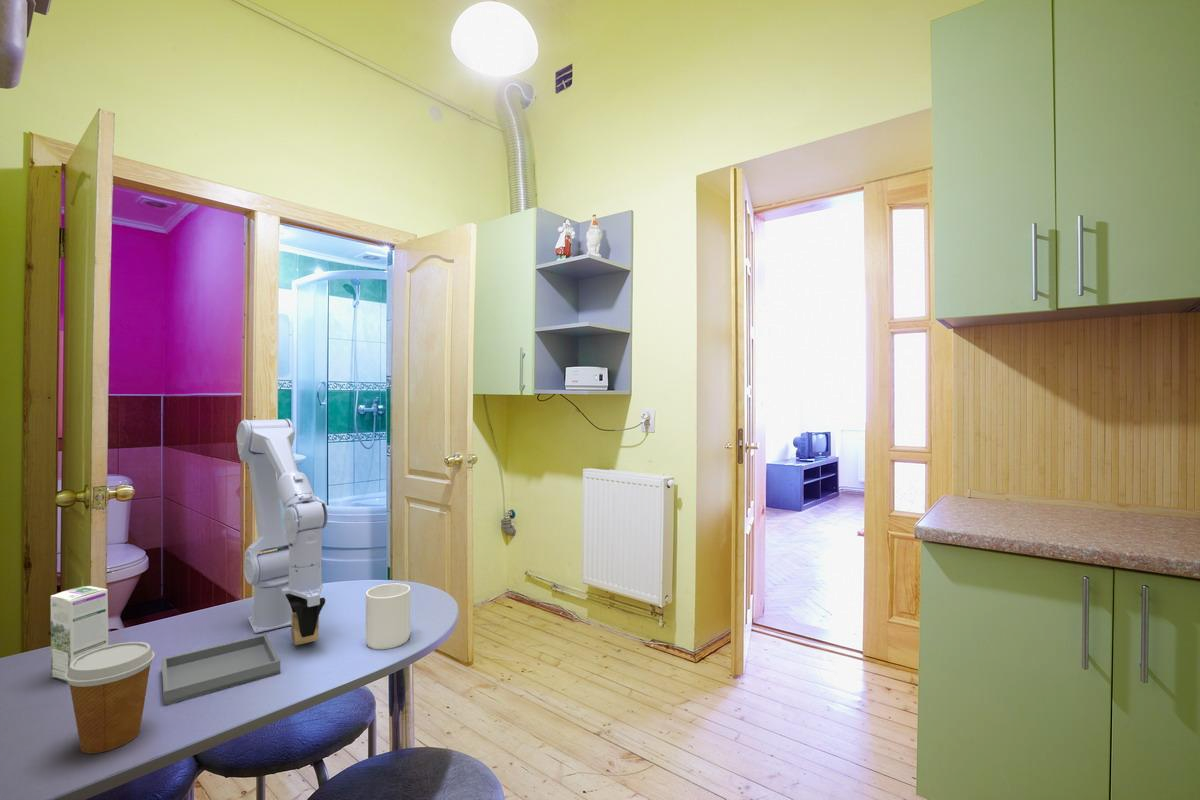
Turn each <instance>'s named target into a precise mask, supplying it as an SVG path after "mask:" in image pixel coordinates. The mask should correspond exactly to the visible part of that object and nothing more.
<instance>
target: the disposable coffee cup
mask: <svg viewBox="0 0 1200 800" xmlns="http://www.w3.org/2000/svg"><path fill="white" fill-rule="evenodd" d="M155 655H156V654H155V652H154V651H153V650H152V647H151V645H150V644H149V643H147V642H145V641H128V642H120V643H114V644H110V645H108V646H105V647H102V648H99V649H95V650H92V651H90V652H87V653H85V654H83V655H81V656H79V657H77V658H76V659H74V660H73V661H72V662H71V663H70V666H69V669H68V671H67V672H66V673H65V676H64V678H65V679H66V681H67V682H66V681H65V682H66V683H67V684H68V685H69V690H70V696H71V701H72V706H73V712H74V717H75V722H76V728H77V730H76V731H77V733H78V740H79V746H80V751H81V752H83V753H85V754H98V753H104V752H107V751H112V750H114V749H117V748H119V747H122V746H123V745H125V744H128V743H130V742H131V741H133V740H134V739H135V738H136V737H138V735H139V734H140V732H141V727H142V721H143V720H142V719H143V714H144V708H145V701H146V697H147V695H146V694H147V688H148V681H149V675H150V671H151V670H150V669H151V664H152V663H153V660H154V658H155ZM132 739H133V740H132ZM129 741H130V742H129Z"/></svg>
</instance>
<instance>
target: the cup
mask: <svg viewBox="0 0 1200 800" xmlns="http://www.w3.org/2000/svg"><path fill="white" fill-rule="evenodd" d="M410 635H411V587H410V586H409V585H408V584H406V583H396V582H395V583H383V584H379V585H376V586H373V587H370V588H369V589H368V590H366V592H365V642H366V645H367V647H369V648H370V649H374V650H389V649H394V648H398V647H400V646H402V645H403V644H405V643H406V642H408V640H409V639H410Z"/></svg>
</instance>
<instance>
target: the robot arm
mask: <svg viewBox="0 0 1200 800" xmlns="http://www.w3.org/2000/svg"><path fill="white" fill-rule="evenodd" d="M295 435H296V430H295V425H294V423H293V422H292V420H291V419H289V418H284V419H242V420H241V421H240V422H239V423H238V426H237V430H236V444H237V445H236V446H237V452H238V455H239V460H240V461H242V462H245V463H247V465H248V466H247V467H248V470H249V476H250V484H251V485H250V486H251V493H252V501H253V508H254V517H255V523H256V532H257V539H255V541H253V542H252V543H251V544H250V545H249V546H248V547H247V548H246V549H245V552H244V564H243V574H244V578H245V580H246V582H247V583H248V584H249V585H250V586H253V615H252V616H249V617H248V619H247V620H248V622H249V624H250V626H251V629H252V630H253V633H254V634H260V633H263V632H269V631H271V630H277V629H280V628H284V627H285V628H286V627H289V626H291V619H292V613H294V612H296V614H297V617H298V622H299V629H300V633H301V636H302V638H303V637H307V636H311V635H314V632H315V629H316V624H317V620H318V617H319V618H320V614H321V611H322V609H323V607H324V605H325V603H326V598H325V597H320V596H321V594H320V593H321V592H322V589H323V581H322V564H323V563H322V561H323V559H322V558H323V557H322V556H323V553H322V550H323V547H322V546H323V544H322V543H323V538H322V537H323V530H322V529H325V527H326V526H327V524H328V521H329V513H328V508H327V505H326V502H325V501H324V500H322V499H321V498H320V496H315V494H314V491H313V489H312V487H311V484H310V481H309V479H308V477H307V475H306V474H305V473H303V472H301V471H298V467H297V463H296V460H295V456H294V453H293V449H292V447H293V444H294V440H295ZM277 476H278V479H277ZM281 504H282V506H283V509H284V512H283V516H282V508H281ZM284 530H285V531H284ZM266 551H267V552H266ZM261 552H262V553H261Z"/></svg>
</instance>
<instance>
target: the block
mask: <svg viewBox="0 0 1200 800" xmlns="http://www.w3.org/2000/svg"><path fill="white" fill-rule="evenodd" d="M319 619H320V616H319V617H318V620H317V624H316V629H315V632H314V635H311V636H307V637H303V638H302V636H301V633H300V629H299V622H298V617H297V614H296V612H294V613H292V619H291V625H290V626H291V627H290V628H291V633H290V634H291V635H290V637H291V638H290V639H291V640H292V642H293V643H294V645H295V646H299V645H303V644H307V643H310V642H311V643H312V642H315V641H319V638H320V637H319V634H320V633H319V631H320V630H319V623H320V622H319V621H320V620H319Z"/></svg>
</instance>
